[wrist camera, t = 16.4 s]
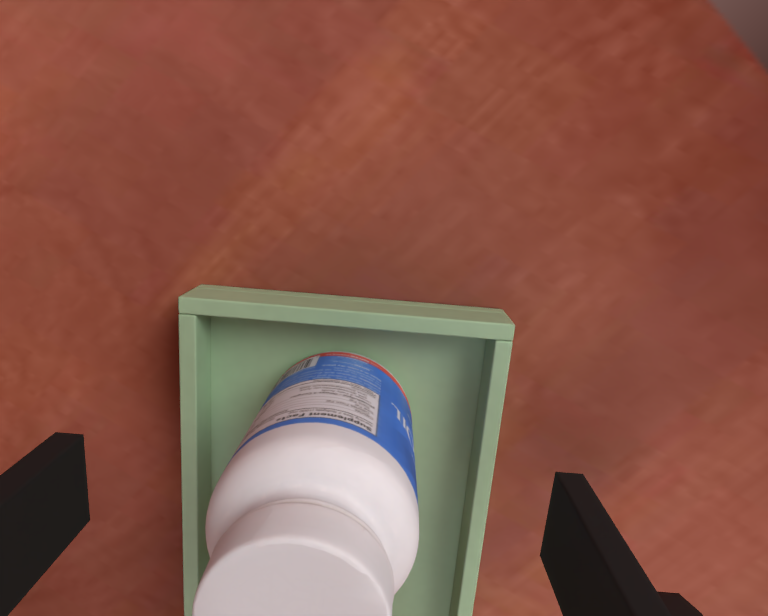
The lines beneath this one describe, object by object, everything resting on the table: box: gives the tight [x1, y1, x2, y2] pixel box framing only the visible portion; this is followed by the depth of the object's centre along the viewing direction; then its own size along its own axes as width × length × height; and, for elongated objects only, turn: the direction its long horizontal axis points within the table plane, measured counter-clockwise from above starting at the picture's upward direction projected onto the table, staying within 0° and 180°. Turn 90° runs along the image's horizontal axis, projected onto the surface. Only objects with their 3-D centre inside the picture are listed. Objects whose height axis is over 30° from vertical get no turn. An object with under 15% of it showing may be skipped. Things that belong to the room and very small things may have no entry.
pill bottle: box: [192, 351, 419, 616], centre depth 15 cm, size 6×5×10 cm
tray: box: [178, 284, 515, 616], centre depth 21 cm, size 25×11×2 cm, turn 175°
